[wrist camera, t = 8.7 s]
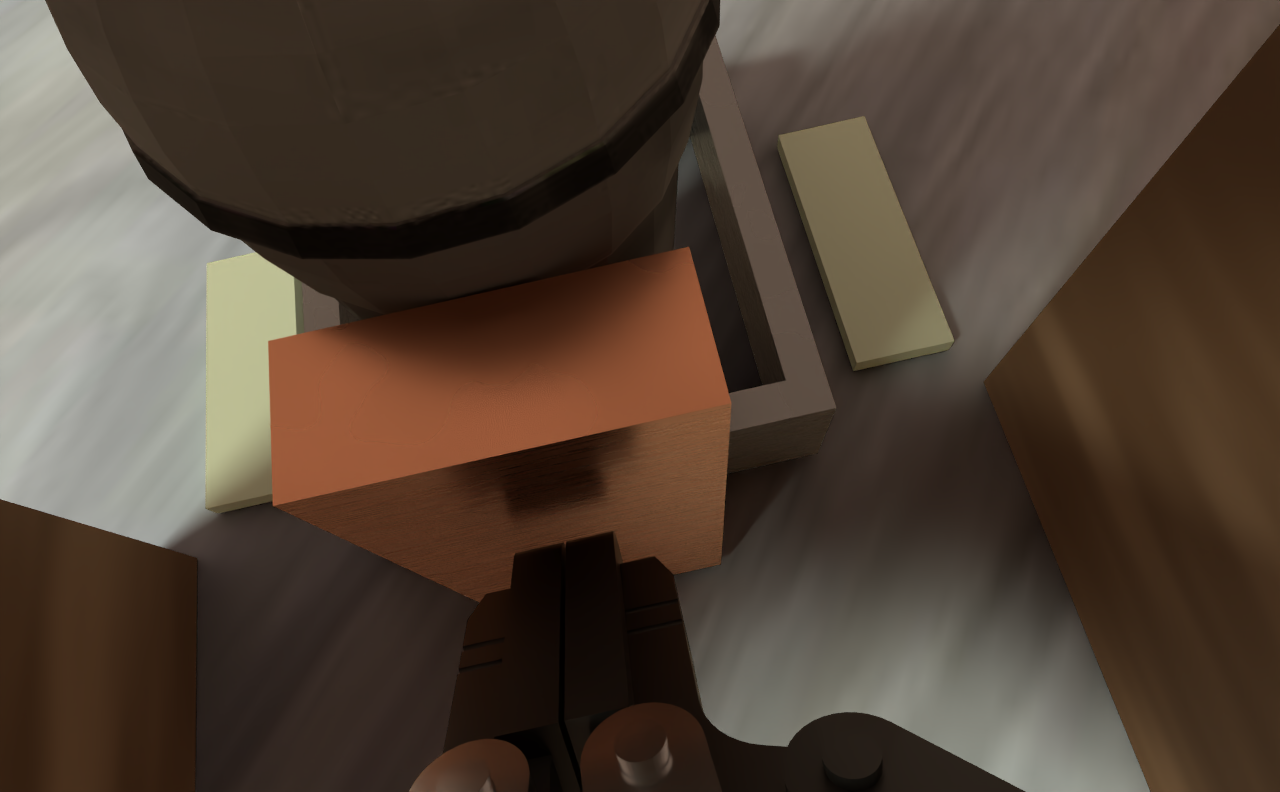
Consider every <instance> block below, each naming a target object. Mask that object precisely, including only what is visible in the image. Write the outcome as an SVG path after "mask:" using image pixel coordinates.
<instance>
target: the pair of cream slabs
mask: <svg viewBox="0 0 1280 792" xmlns="http://www.w3.org/2000/svg"><path fill="white" fill-rule="evenodd" d="M777 149H778V152H779V154H780V157H781V160H782V163H783V166H784V169H785V172H786V175H787V178H788V181H789V184H790V187H791V190H792V193H793V196H794V199H795V201H796V204H797V207H798V210H799V213H800V216H801V219H802V222H803V225H804V228H805V231H806V234H807V237H808V240H809V243H810V246H811V248H812V251H813V254H814V257H815V260H816V263H817V266H818V269H819V272H820V275H821V278H822V281H823V284H824V287H825V290H826V292H827V295H828V298H829V301H830V304H831V307H832V310H833V313H834V316H835V319H836V322H837V325H838V328H839V331H840V334H841V337H842V339H843V342H844V345H845V348H846V351H847V354H848V357H849V360H850V363H851V366H852V369H853V371H856V370H861V369H865V368H870V367H874V366H879V365H883V364H888V363H892V362H897V361H901V360H906V359H910V358H914V357H919V356H923V355H928V354H932V353H937V352H941V351H946V350H949V349H950V347H951V346H952V344H953V343H954V338H953V336H952V333H951V331H950V328H949V326H948V323H947V321H946V318H945V316H944V313H943V311H942V308H941V306H940V303H939V301H938V299H937V296H936V294H935V291H934V289H933V286H932V284H931V281H930V279H929V276H928V274H927V271H926V269H925V266H924V264H923V261H922V259H921V256H920V254H919V251H918V249H917V246H916V244H915V241H914V239H913V236H912V234H911V231H910V229H909V226H908V224H907V221H906V219H905V216H904V214H903V211H902V209H901V206H900V204H899V201H898V199H897V196H896V194H895V191H894V189H893V186H892V184H891V181H890V179H889V176H888V174H887V171H886V169H885V166H884V164H883V161H882V159H881V156H880V154H879V151H878V149H877V146H876V144H875V141H874V139H873V136H872V134H871V131H870V129H869V127H868V124H867V122H866V119H865V117H864V116H862V117H858V118H853V119H849V120H844V121H840V122H835V123H831V124H826V125H822V126H817V127H813V128H808V129H804V130H800V131H795V132H791V133H786V134H782V135H778V143H777ZM301 333H304V316H303V295H302V282H301V281H299V280H298V279H296V278H295V277H293V276H291V275H290V274H288V273H286V272H285V271H283V270H282V269H280V268H278V267H277V266H275V265H274V264H272V263H270V262H269V261H267V260H266V259H264V258H263V257H261V256H260V255H259V254H258V253H257V252H255V253H251V254H246V255H242V256H238V257H233V258H229V259H224V260H220V261H215V262H211V263H207V328H206V509H207V510H210V511H212V512H215V513H217V514H218V513H222V512H227V511H231V510H236V509H240V508H245V507H249V506H253V505H258V504H262V503H267V502H271V501H273V498H272V462H271V427H270V391H269V355H268V341H270V340H275V339H279V338H283V337H288V336H292V335H297V334H301Z"/></svg>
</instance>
